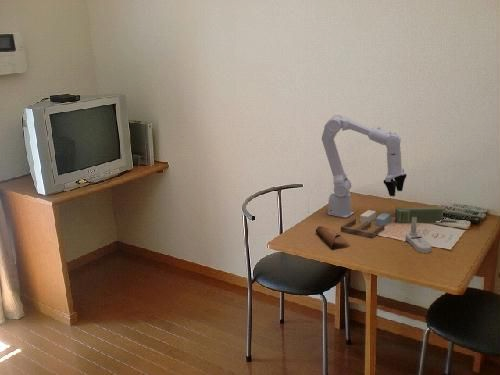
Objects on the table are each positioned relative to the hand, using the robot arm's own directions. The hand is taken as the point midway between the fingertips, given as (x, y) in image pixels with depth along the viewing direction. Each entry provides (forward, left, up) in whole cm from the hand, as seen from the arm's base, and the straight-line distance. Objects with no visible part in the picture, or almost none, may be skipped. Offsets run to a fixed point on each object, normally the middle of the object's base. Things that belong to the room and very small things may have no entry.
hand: (396, 193), depth 232 cm
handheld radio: (+13, +2, -12) cm, 17 cm away
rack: (-5, -20, -11) cm, 24 cm away
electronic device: (+20, -24, -12) cm, 33 cm away
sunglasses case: (-10, -36, -12) cm, 39 cm away
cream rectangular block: (-9, -9, -11) cm, 17 cm away
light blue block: (-2, -9, -11) cm, 14 cm away
